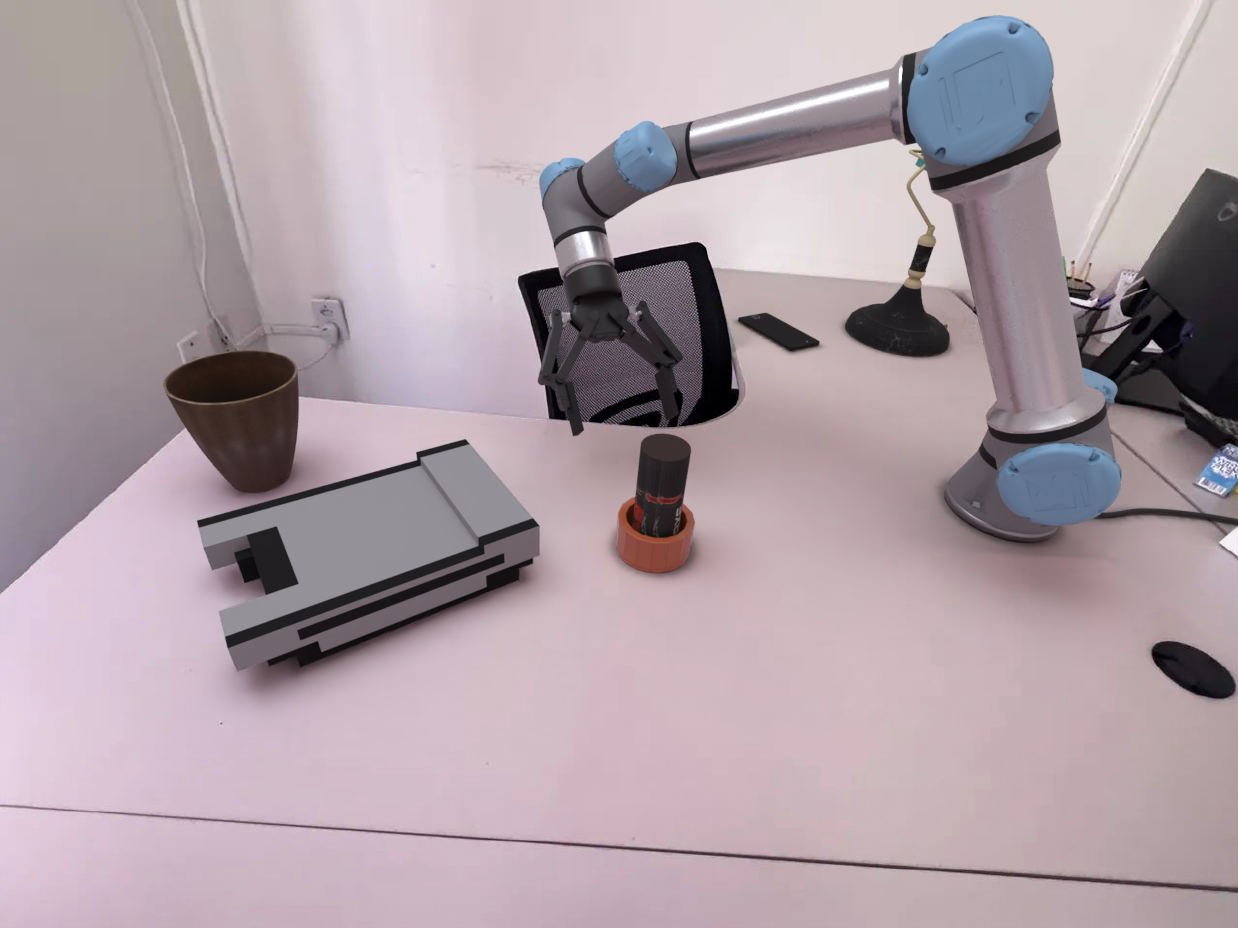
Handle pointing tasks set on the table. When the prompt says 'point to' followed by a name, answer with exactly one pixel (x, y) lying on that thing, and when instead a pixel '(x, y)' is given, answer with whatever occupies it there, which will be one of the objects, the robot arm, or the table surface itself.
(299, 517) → the game console
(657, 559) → the cup
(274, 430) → the flower pot
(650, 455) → the deodorant
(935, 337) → the banker's lamp
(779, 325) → the cell phone
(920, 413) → the table surface
